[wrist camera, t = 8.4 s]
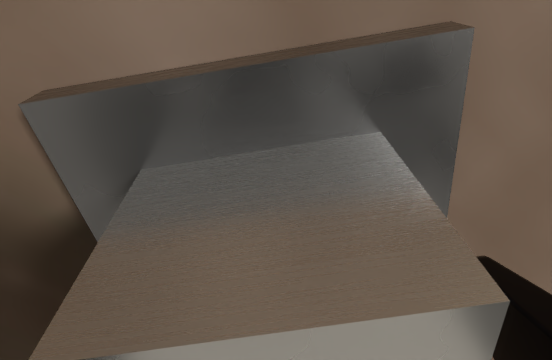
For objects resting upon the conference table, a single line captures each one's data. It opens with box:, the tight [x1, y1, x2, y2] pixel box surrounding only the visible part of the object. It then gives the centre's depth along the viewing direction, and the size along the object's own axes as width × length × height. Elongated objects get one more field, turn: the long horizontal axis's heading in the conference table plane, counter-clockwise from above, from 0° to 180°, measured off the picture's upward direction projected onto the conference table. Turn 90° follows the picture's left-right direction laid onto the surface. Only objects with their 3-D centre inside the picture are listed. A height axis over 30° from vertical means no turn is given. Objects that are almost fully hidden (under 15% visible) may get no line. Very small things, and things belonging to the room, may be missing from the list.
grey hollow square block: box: [29, 131, 510, 360], centre depth 8 cm, size 6×6×5 cm
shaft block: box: [18, 22, 474, 242], centre depth 9 cm, size 10×10×5 cm
